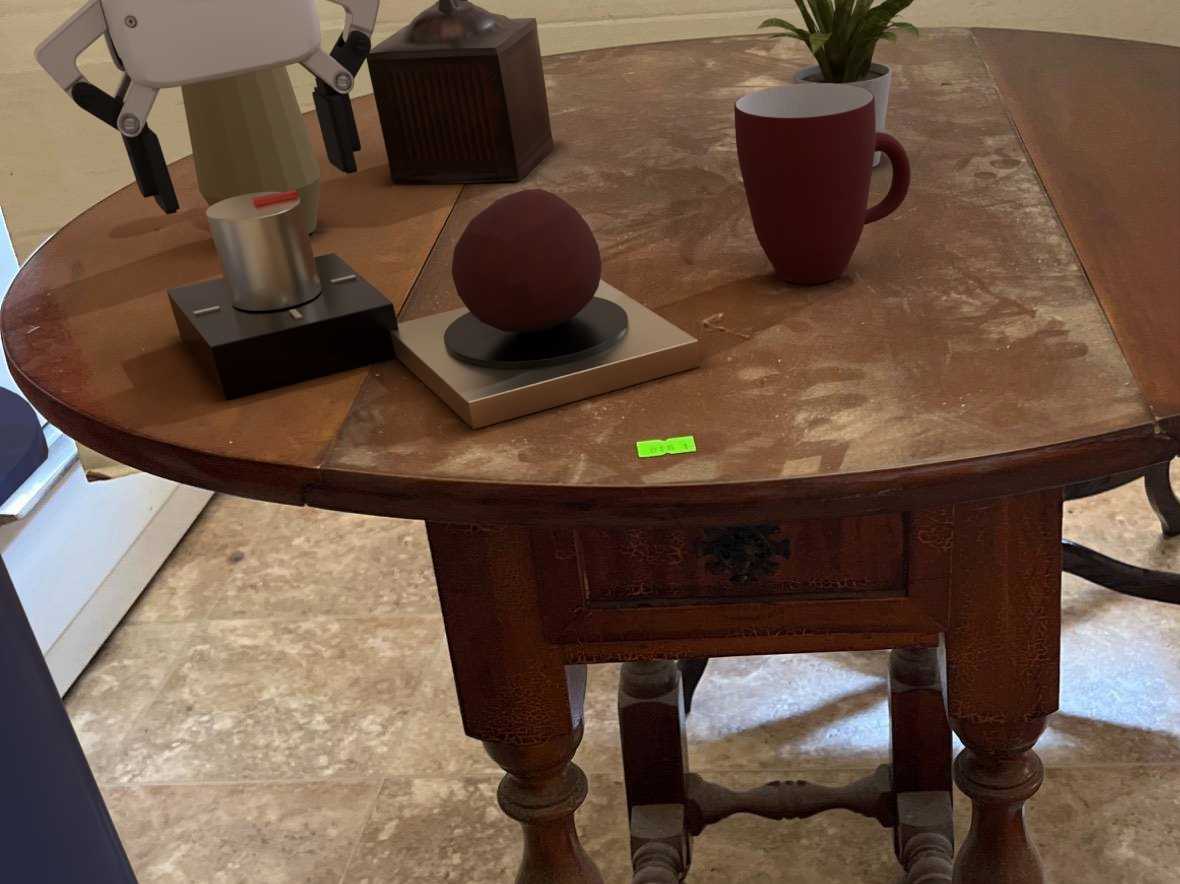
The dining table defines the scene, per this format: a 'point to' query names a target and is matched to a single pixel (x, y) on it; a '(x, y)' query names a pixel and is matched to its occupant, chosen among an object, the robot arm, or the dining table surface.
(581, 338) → the hotplate
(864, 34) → the house plant
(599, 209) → the dining table surface
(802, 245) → the mug
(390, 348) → the control panel
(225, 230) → the dial
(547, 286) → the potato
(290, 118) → the squeeze bottle
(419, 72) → the grooved wooden box
